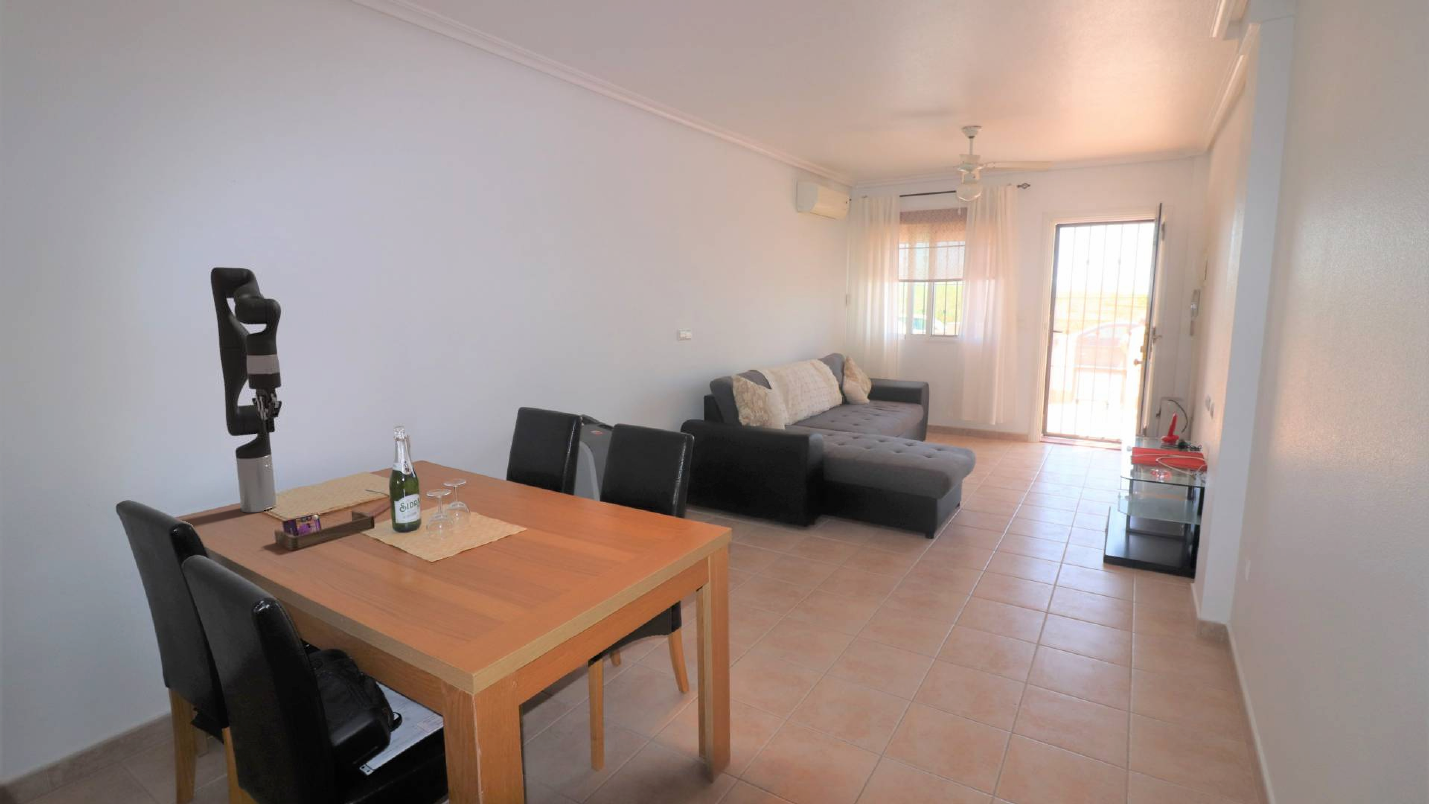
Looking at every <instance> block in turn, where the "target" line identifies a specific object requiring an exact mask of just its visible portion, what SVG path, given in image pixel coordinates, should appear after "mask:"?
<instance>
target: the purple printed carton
mask: <svg viewBox="0 0 1429 804" xmlns="http://www.w3.org/2000/svg"><path fill="white" fill-rule="evenodd" d="M319 515H320V514H319V513H314V514H308V515H303V516H300V517H296V518H291V519H287V520H286V519H285V520H283V521H281V523H282V524H281V525H282V528H283V531H284V532H286V533H289V534H291V535H293V536H299V535H302V534H306V533H310V532H313V528H315V529H316V530H315V531H317V530H321V529H322V525H321V521H320V516H319ZM297 520H300V522H302V524H301V525H299V526H298V524H297ZM312 520H313V522H314V526H312V524H313V523H312V522H309V521H312ZM307 521H308V522H307Z"/></svg>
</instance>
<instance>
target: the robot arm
mask: <svg viewBox="0 0 1429 804" xmlns="http://www.w3.org/2000/svg"><path fill="white" fill-rule="evenodd" d="M210 285H211V292H212V296H213V302H214V309H215V314H216V321H217V331H218V333H217V334H218V346H219V347H218V348H219V358H220V362H221V363H220V364H221V371H222V376H223V383H224V384H223V386H224V402H225V404H224V405H225V406H224V407H225V422H226V428H227V429H226V430H227V432H228V434H229V435H230V436H232V437H238V436H251V435H257V436H255V438H254V439H253V440H251V441H249V442H247V443H244V444H242V445H240V446H238V447H237V448H236V449H235V461H236V470H237V471H236V472H237V480H238V489H239V501H240V509H241V512H243V513H259V512H265V511H264V510H265V509H266V508H268V507H274V506H275V505H276V506H277V499H276V489H275V479H274V478H275V477H274V466H273V457H272V456H273V455H272V448H271V439H270V438H271V436H270V433H275V431H276V428H275V427H276V426H275V419H276V418H278V417H279V415H280V411H281V409H282V405H283V402H282V400H278V395H277V391H276V389H278V388H281V387H282V378H281V367H280V361H279V356H278V349H277V333H278V327H279V323H280V320H281V315H282V308H281V305H280V304H279V302H278V301H277V300H276V299H275V298H274V299H273V298H266V297H264V295H263V294H262V293H261V290H260V287H259V284H258V280H257V277H256V275H255V273H254V272H253V271H252V270H250V269H248V268H245V267H244V268H242V267H224V266H223V267H217V266H216V267H213V268H212V269H211V272H210ZM228 299H233V303H234V304H235V305H234V313H233V311H232V309H231V307H230V305H229V302H228ZM244 325H265V327H264V329H263V330H261V331H258V332H254V333H253V332H251V333H250V331H248V329H247V328H246V327H245V326H244ZM247 382H248V388H249V389H250V390H255V397H251V401H252V404H247V405H238V403H239V398H240V394H241V392H242V390H243V388H244V386H245V385H246V383H247ZM274 508H275V507H274Z"/></svg>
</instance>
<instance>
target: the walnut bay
mask: <svg viewBox="0 0 1429 804" xmlns="http://www.w3.org/2000/svg"><path fill="white" fill-rule="evenodd" d="M350 512H351V521H348V522H344V523H339V524H337V525H332V526H329V527H326V528H321V530H312V531H311V532H310V533H306V534H302V535H299V536H293V535H291V534H289V533H286V532H284V530H281V529H275V530H274V539H275V543H276V544H278V545H280V546H283V547H285V548H287V549H289V550H292V551H298V550H302V549H305V548H309V547H312V546H316V545H319V544H323V543H326V542H330V541H333V540H337V539H340V538H343V537H347V536H350V535H354V534H358V533H360V532H365V531H368V530H371V529H374V527H375V526H376V525H375V516H374V515H373V514H372V515H371V514H368V513H366V512H362V511H359V510H357V509H352V510H351V511H350ZM364 530H365V531H364Z"/></svg>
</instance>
